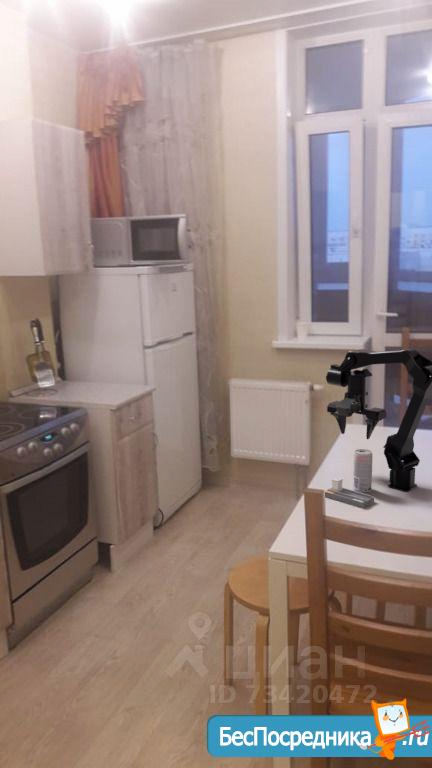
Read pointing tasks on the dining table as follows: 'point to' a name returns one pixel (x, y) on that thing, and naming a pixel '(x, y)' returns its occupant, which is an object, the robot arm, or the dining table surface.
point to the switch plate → (350, 497)
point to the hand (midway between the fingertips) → (355, 436)
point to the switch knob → (337, 484)
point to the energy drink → (362, 471)
